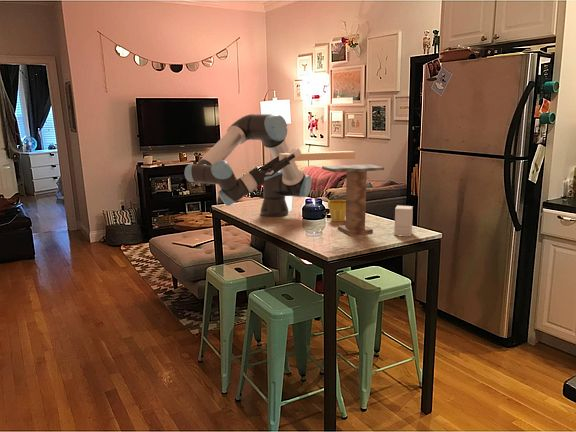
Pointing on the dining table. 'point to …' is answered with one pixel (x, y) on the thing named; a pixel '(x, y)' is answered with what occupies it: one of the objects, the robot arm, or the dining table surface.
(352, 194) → the shelf stand
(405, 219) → the supplement box
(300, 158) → the tan rectangular bar
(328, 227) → the dining table surface
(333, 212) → the plant pot
